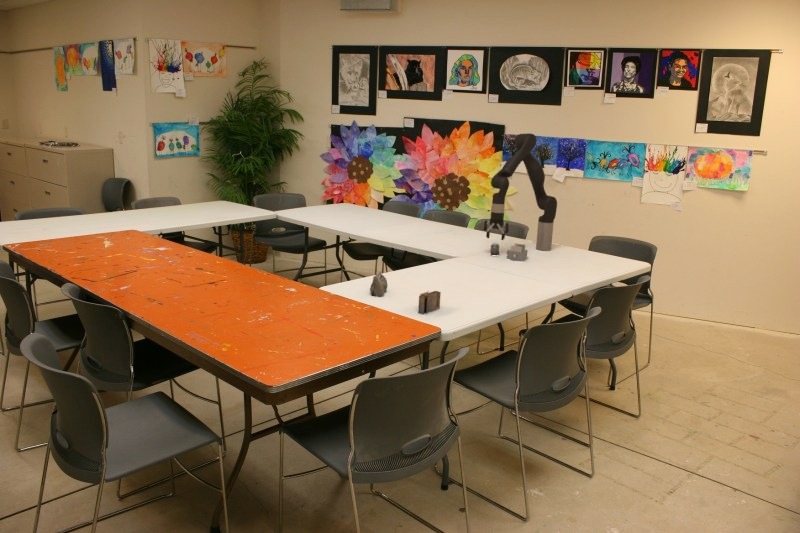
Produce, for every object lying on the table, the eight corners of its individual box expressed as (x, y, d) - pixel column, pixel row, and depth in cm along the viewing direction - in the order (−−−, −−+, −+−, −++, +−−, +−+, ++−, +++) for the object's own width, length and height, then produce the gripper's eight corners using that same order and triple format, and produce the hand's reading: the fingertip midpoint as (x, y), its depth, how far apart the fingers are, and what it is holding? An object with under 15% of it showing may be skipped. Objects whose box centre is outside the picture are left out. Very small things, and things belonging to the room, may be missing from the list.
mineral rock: (382, 288, 309) (383, 267, 307) (399, 293, 302) (400, 271, 300) (361, 293, 300) (362, 271, 298) (378, 298, 293) (379, 275, 290)
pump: (491, 254, 395) (492, 242, 394) (499, 255, 393) (500, 243, 392) (489, 255, 391) (490, 244, 389) (497, 256, 389) (498, 245, 388)
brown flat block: (424, 315, 272) (425, 292, 270) (418, 313, 274) (419, 290, 272) (440, 309, 281) (441, 287, 278) (434, 308, 282) (435, 286, 280)
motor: (508, 256, 392) (509, 242, 390) (526, 258, 388) (528, 244, 386) (503, 259, 381) (504, 245, 379) (521, 262, 377) (523, 248, 375)
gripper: (511, 212, 387) (508, 239, 391) (487, 209, 393) (485, 236, 396) (507, 213, 380) (505, 241, 384) (483, 210, 386) (481, 238, 389)
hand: (495, 239), depth 390 cm, fingers open, 8 cm apart
